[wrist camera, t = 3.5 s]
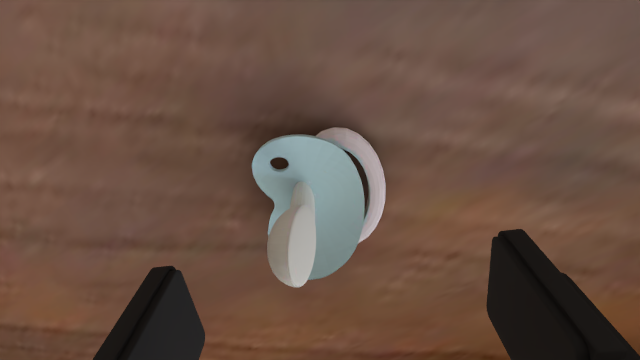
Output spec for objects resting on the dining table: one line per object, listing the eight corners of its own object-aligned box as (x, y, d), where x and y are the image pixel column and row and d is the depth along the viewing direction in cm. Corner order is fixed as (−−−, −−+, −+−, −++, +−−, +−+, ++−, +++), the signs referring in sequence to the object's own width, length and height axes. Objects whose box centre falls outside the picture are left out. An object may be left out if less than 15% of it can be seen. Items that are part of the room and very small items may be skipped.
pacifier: (378, 108, 17) (248, 126, 17) (415, 158, 11) (218, 185, 11) (387, 240, 20) (278, 255, 20) (420, 333, 14) (266, 353, 14)
